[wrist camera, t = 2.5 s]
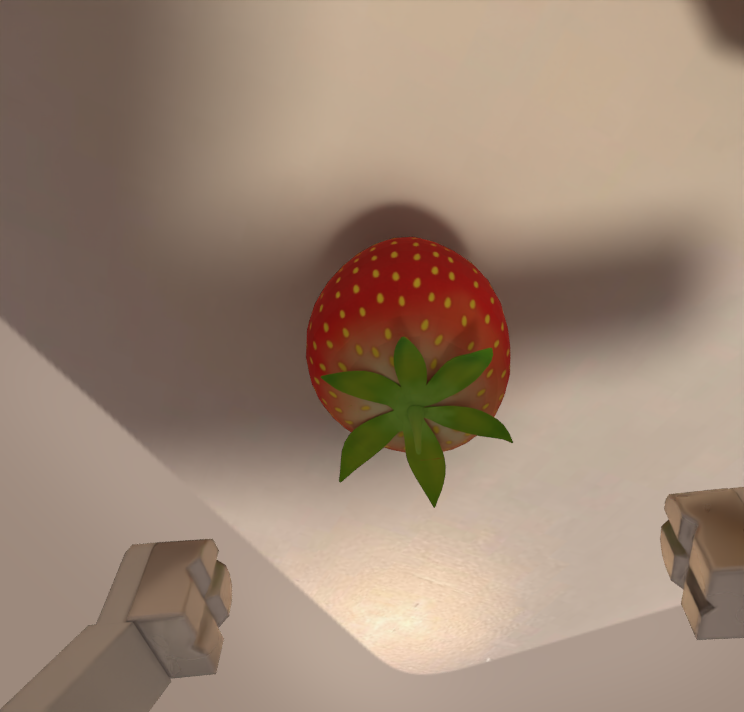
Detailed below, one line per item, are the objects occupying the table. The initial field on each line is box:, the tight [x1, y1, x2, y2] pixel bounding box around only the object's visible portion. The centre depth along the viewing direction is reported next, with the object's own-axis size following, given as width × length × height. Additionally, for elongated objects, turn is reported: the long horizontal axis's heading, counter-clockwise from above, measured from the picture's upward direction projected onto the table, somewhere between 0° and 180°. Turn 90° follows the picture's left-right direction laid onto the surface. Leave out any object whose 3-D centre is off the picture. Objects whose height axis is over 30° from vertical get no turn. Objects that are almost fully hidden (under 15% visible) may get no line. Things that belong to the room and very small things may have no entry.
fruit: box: [306, 237, 513, 508], centre depth 16 cm, size 5×5×8 cm
